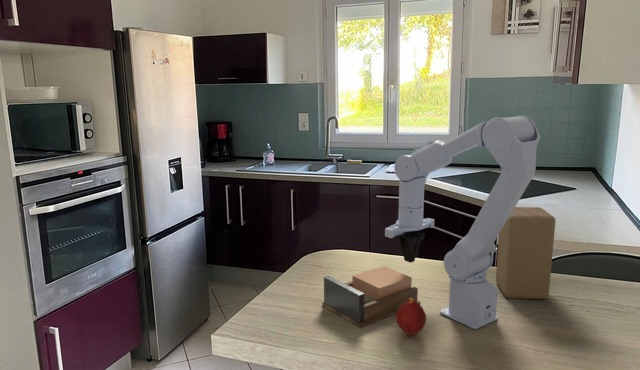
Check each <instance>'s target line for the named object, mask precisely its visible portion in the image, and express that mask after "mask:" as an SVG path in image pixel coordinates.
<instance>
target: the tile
mask: <svg viewBox="0 0 640 370" xmlns="http://www.w3.org/2000/svg"><path fill="white" fill-rule="evenodd" d="M412 279H413V278H412V276H409V275H407V274H404V273H402V272H399V271H397V270H394V269H392V268H390V267H388V266H385V265H384V266H383V265H382V266H381V267H377V268H374V269H370V270H367V271H364V272H360V273H356V274H353V275H352V280H351V281H352V288H354V289H356V290H358V291H360V292H362V293H364V294H366V295H368V296H370V297H372V298H374V299H376V300H378V299H381V298H384V297H387V296H390V295H392V294H395V293H398V292H401V291H404V290H407V289H410V288H412V285H413V284H412Z"/></svg>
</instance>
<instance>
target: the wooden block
mask: <svg viewBox="0 0 640 370" xmlns="http://www.w3.org/2000/svg"><path fill="white" fill-rule="evenodd" d="M556 220H557V219H556V217H554V216H553V215H552V214H550V213H549V212H548V211H547V210H545V209H544V208H542V207H539V206H538V207H536V206H534V207H531V206H530V207H529V206H528V207H527V206H515V208H514V209H513V211H512V213H511V214H510V216H509V218H508V220H507V221H506V223H505V225H504V226H503V228H502V230H501V231H500V233H499V235H498V243H497V244H498V245H497V257H496V258H497V259H496V270H495V271H496V273H495V282H496V284H497V286H498V287H499V289H500V290H501V292H502V293H503V295H504V297H506V298H508V299H531V300H534V299H535V300H547V299H548V298H549V296H550V285H551V284H550V283H551V276H552V275H551V274H552V263H553V252H554V241H555V232H556V231H555V230H556Z"/></svg>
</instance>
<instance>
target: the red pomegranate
mask: <svg viewBox="0 0 640 370" xmlns="http://www.w3.org/2000/svg"><path fill="white" fill-rule="evenodd" d="M395 315H396V316H395V319H396V324H397V325H398V327H399V328H400V330H402V331H403V332H404V333H406V334H407V336H414V335H415V334H418V333H419V332H420V331H421V330H423V329H424V327H425V325H426V321H427V315H426V312H425V310H424V308H423V306H422V305H421V303H420V304H418V303H417V302H415V301H414V299H413V298H409V299H408V301H407V302H405V303H403V304H402V305H401V306H400V307H399V309H398V311H397V314H395Z"/></svg>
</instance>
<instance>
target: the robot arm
mask: <svg viewBox="0 0 640 370" xmlns="http://www.w3.org/2000/svg"><path fill="white" fill-rule="evenodd" d="M540 140H541V135H540V133H539V130H538V128H537V125H536V123H535V122H534V120H533V119H532V118H530V117H528V116H527V115H517V116H513V117H493V118H490V119H489V120H487V121H483V122H480V123H478V124H476V125H475V126H473V127H471V128H470V129H468V130H466V131H464V132H462V133H461V134H459V135H457V136H455V137H454V138H451V139H450V140H448V141H443V140H439V139H438V140H436V139H432V140H429V141H428V142H427V144H428V145H426V146H423V147H422V148H420V149H419V148H416V149H414V150H413V151H412V153H411V154H403V155H400V156H399V157H398V158H397V159H396V160H395V163H394V166H393V167H394V173H395V175H396V177H397V178H398V179H399V181H398V183H399V185H398V187H399V188H398V189H399V190H398V219H397V220H396V221H395V223H394V224H391V225H390V226H388V227H385V228H384V236H385V237H386V238H389V239H393V238H396V239H397V240H398V242H399V245H400V247H401V251H402V255H403V259H404V261H405V262H408V263H413V262H415V261H416V257H417V253H418V251H419V248H420V246H421V244H422V242H423V240H424V239H425V237H426V232H423V231H422V230H424V229H428V228H431V229H432V228H433V229H434V228H435V219H434V218H430V217H426V218H424V210H425V209H424V208H425V207H424V205H425V204H424V203H425V202H424V201H425V184H427V178H428V176H429V175H430V173H433V172H436V171H438V170H440V169H442V168H445V167H446V166H448V165H450V164H451V163H452V161H453V157H455V156H457V155H460V154H461V153H464V152H467V151H469V150H471V149H474V148H476V147H486V149H487V150H488V151H489V153H490V154H491V156H492V157H493V158H494V160H495V161H496V162H497V164H498V165H499V166H500V169H501V173H500V175H499V176H498V178H497V180H496V181H495V183H494V185H493V187H492V189H491V191H490V192H489V194H488V196H487V198H486V199H485V202H484V204H483V205H482V207H481V209H480V210H479V213H478V214H477V216H476V218H475V220H474V221H473V224H472V226H471V227H470V229H469V231H468V233H467V234H466V235H465V236H464V237H463V238H461V239H460V240H459V241H458V242H457V243H456V245H455V246H454V248H453V249H451V250H450V251H448V252H447V253H446V254H445V256H444V258H443V266H444V270H445V272H446V274H447V275H448V278H449V293H448V294H449V296H448V297H449V298H448V307H446V308H442V309H441V310H440V311H439V314H441V315H443V316H446V317H448V318H449V319H452V320H454V321H456V322H458V323H461V324H463V325H464V326H466V327H469V328H471V329H474V330H477V329H479V328H482V327H484V326H486V325H488V324H491V323H492V322H494V321H496V320H498V319H499V318H498V315H497V303H498V289H497V288H496V286H495V285H493V284H492V283H490V282H489V281H488V280H487V278H486V276H487V271H488V270H489V269H490V268H491V266H492V265H493V262H494V254H495V251H496V250H497V246H496V244H495V241H496V240H497V238H498V237H499V233H500V231H501V230H502V228H503V226H504V225H505V223H506V221H507V220H508V218H509V216H510V214H511V213H512V211H513V209H514V208H515V207H517V204H518V203H519V201H520V199H521V198H522V196H523V195H524V192H525V191H526V189H527V187H529V184H530V182H531V181H532V179H533V177H534V175H535V173H536V170H537V169H536V168H537V166H536V165H537V146H538V144H539V141H540Z"/></svg>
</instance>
